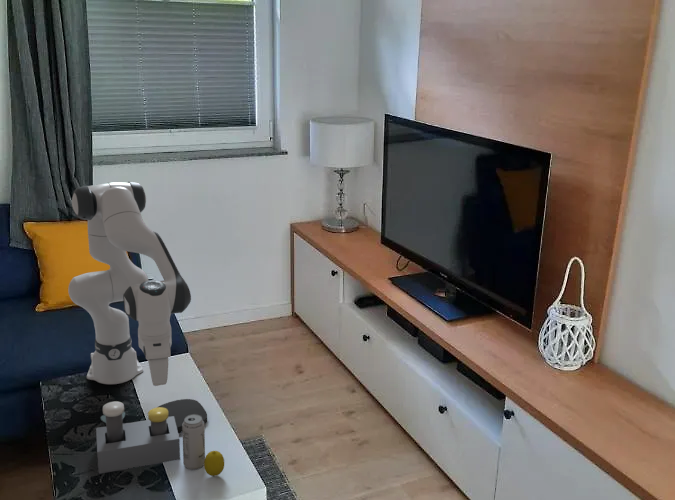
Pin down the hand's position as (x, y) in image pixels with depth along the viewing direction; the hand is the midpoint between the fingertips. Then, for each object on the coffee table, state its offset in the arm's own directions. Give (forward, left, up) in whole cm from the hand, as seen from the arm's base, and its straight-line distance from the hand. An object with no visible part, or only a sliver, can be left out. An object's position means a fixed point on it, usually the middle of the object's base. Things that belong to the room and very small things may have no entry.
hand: (156, 383), depth 186 cm
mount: (0, -6, -22) cm, 23 cm away
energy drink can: (+10, +9, -23) cm, 26 cm away
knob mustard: (0, 0, -21) cm, 21 cm away
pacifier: (-20, -12, -23) cm, 33 cm away
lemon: (+16, +13, -23) cm, 31 cm away
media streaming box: (-15, +8, -23) cm, 29 cm away
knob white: (0, -12, -17) cm, 21 cm away
